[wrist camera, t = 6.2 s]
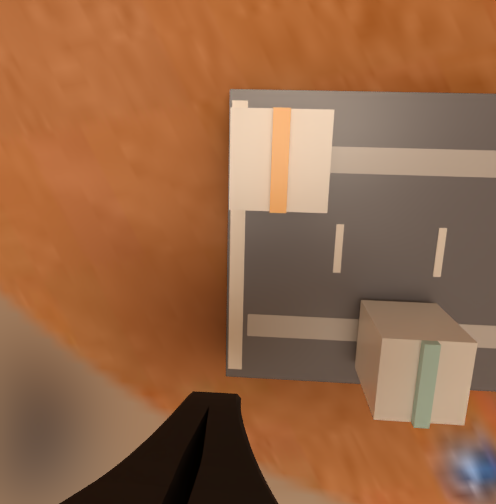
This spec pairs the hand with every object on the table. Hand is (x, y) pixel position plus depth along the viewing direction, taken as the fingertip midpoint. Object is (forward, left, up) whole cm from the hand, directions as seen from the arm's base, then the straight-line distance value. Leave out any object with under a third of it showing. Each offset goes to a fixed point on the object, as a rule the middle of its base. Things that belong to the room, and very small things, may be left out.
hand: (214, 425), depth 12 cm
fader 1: (-2, -7, -6) cm, 10 cm away
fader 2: (-7, 0, -7) cm, 9 cm away
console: (-8, -4, -8) cm, 12 cm away
